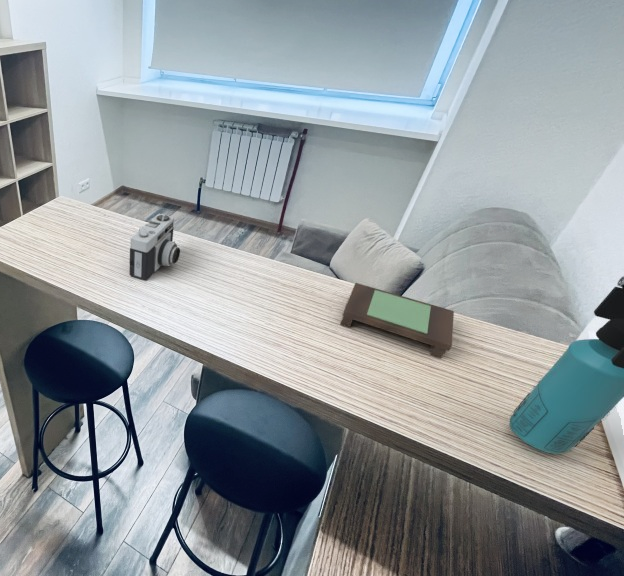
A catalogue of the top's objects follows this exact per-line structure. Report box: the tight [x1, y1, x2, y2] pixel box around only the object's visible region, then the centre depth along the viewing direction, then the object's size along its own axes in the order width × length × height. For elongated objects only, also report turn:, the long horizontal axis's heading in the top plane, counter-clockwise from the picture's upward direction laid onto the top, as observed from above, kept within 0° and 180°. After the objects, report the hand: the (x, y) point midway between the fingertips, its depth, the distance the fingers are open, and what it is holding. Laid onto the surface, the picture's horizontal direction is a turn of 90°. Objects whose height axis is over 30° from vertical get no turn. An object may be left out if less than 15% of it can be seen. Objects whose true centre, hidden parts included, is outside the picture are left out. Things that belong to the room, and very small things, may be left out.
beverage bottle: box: [509, 319, 624, 455], centre depth 50 cm, size 6×7×20 cm
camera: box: [129, 213, 181, 281], centre depth 90 cm, size 14×8×10 cm, turn 149°
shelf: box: [340, 282, 455, 359], centre depth 74 cm, size 16×11×4 cm
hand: (620, 342), depth 45 cm, fingers open, 9 cm apart
